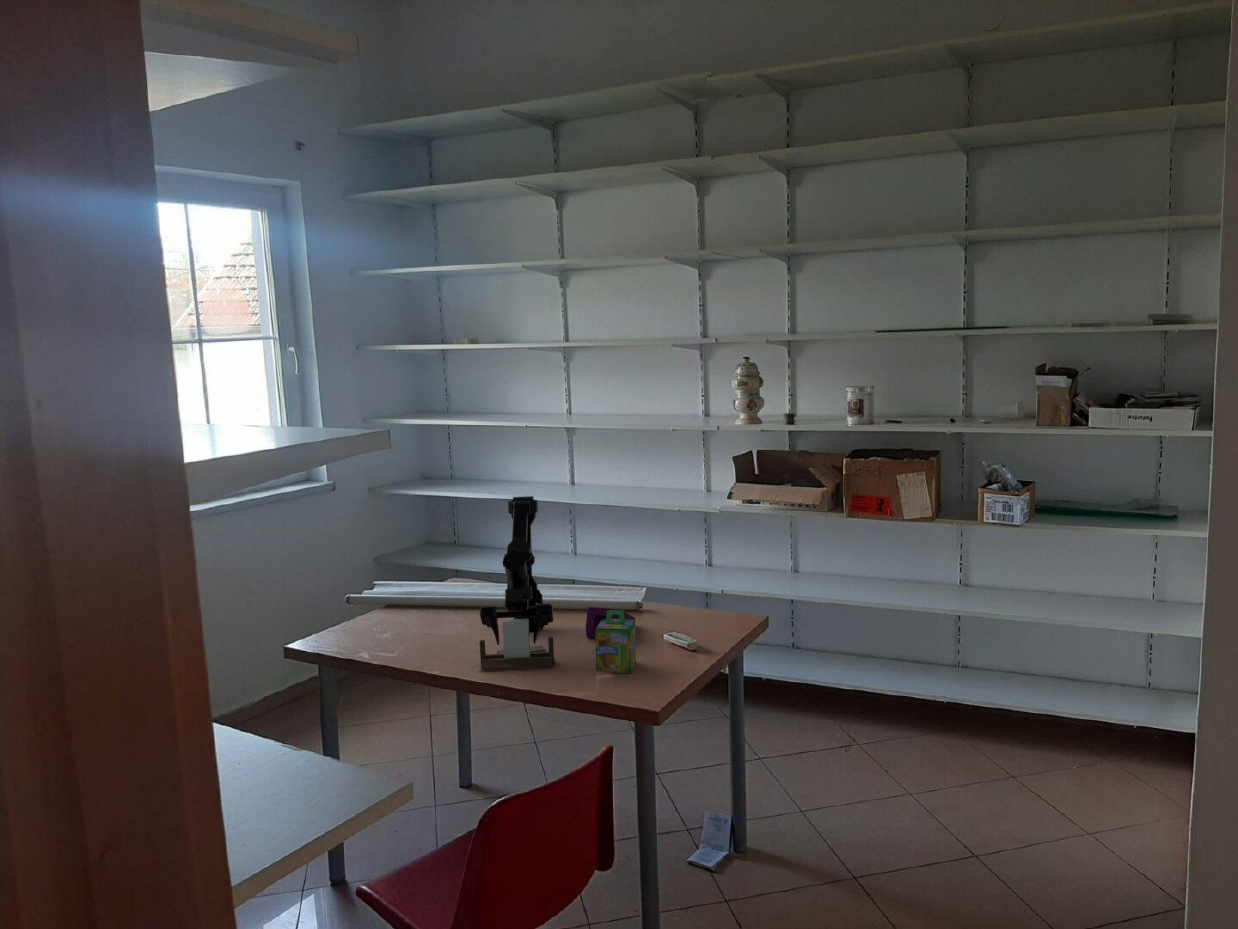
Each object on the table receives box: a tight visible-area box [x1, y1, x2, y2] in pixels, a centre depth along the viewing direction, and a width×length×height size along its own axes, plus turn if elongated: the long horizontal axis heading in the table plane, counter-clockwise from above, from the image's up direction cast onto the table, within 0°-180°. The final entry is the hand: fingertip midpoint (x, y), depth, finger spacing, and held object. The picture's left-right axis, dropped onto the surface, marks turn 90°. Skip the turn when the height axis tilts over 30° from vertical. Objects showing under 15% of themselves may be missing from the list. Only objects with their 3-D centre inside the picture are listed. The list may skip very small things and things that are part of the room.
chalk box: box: [594, 609, 637, 675], centre depth 235 cm, size 9×9×15 cm
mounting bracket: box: [585, 606, 636, 640], centre depth 264 cm, size 10×8×18 cm
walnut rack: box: [478, 636, 556, 673], centre depth 237 cm, size 8×19×8 cm, turn 91°
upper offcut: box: [496, 643, 546, 654], centre depth 246 cm, size 5×12×2 cm, turn 112°
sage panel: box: [502, 618, 531, 658], centre depth 237 cm, size 2×6×12 cm, turn 91°
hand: (516, 643), depth 236 cm, fingers open, 9 cm apart
